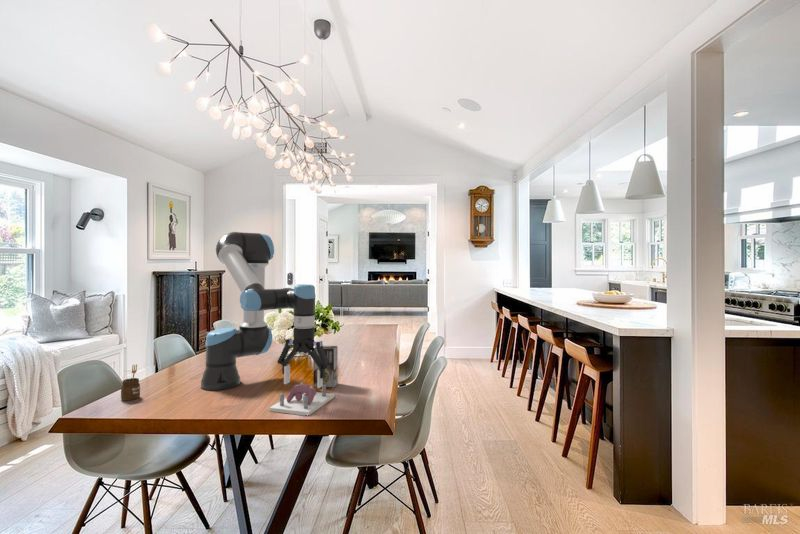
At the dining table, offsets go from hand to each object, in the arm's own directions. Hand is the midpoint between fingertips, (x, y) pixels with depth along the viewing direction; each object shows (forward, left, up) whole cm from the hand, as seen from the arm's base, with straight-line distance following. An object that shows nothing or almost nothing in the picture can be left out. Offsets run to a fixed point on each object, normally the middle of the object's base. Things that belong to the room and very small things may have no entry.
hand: (303, 385), depth 142 cm
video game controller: (0, -1, -6) cm, 6 cm away
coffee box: (-3, +23, -7) cm, 24 cm away
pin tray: (0, 0, -7) cm, 7 cm away
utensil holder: (-65, -14, -7) cm, 67 cm away
